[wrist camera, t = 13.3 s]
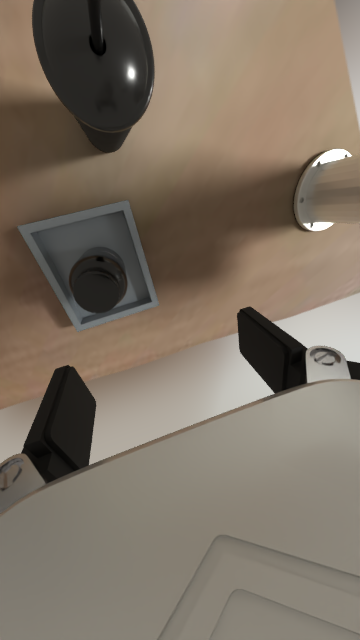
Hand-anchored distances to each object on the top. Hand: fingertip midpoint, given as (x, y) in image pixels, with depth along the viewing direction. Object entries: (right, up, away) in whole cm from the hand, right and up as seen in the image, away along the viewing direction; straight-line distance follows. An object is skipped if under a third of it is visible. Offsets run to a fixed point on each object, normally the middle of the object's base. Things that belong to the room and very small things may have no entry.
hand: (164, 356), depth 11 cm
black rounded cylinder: (-9, +26, +14) cm, 31 cm away
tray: (-12, +10, +21) cm, 26 cm away
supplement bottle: (-11, +10, +21) cm, 26 cm away
